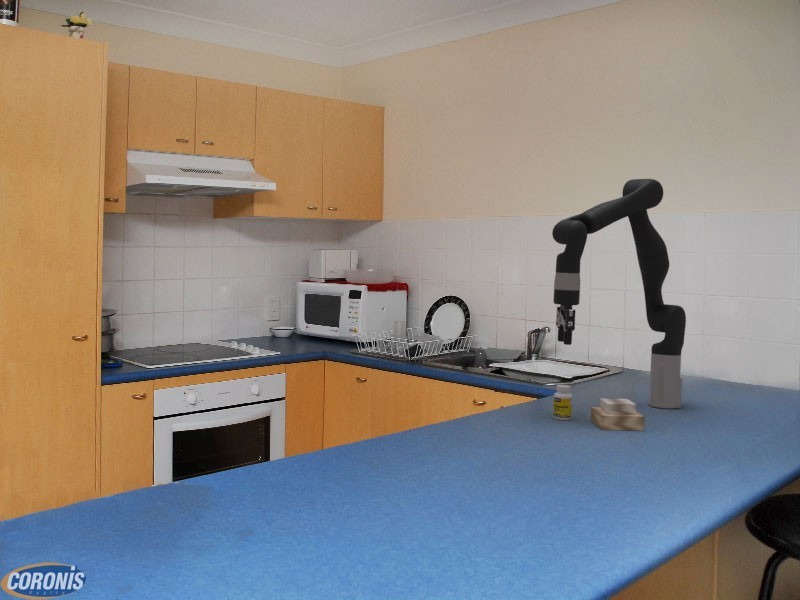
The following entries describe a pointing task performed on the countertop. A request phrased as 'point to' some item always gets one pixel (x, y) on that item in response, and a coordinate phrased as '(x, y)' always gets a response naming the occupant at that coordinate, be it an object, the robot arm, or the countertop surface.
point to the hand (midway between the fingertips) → (564, 343)
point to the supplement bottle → (562, 403)
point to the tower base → (617, 415)
